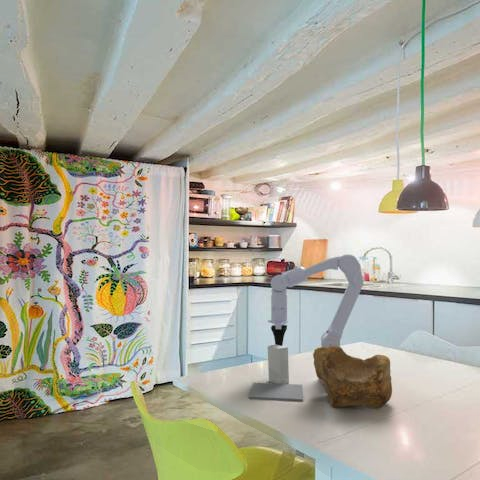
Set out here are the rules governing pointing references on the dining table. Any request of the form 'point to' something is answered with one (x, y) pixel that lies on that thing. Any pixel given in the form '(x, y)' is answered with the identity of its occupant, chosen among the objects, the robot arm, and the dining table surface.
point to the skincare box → (278, 364)
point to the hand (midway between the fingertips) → (279, 346)
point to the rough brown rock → (353, 378)
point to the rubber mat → (276, 391)
